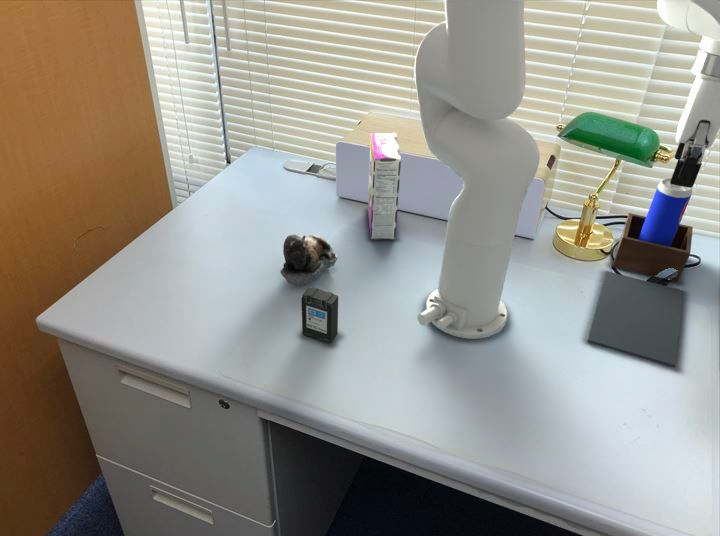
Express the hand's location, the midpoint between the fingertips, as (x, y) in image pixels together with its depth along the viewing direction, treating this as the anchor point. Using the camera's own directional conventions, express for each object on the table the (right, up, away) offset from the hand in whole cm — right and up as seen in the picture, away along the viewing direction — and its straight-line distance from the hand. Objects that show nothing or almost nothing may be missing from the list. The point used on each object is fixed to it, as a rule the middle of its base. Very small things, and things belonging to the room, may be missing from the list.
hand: (682, 172), depth 101 cm
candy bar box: (-47, -6, +20) cm, 51 cm away
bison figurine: (-60, -16, +7) cm, 63 cm away
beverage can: (0, -14, +11) cm, 17 cm away
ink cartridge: (-58, -26, -5) cm, 64 cm away
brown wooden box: (0, -14, +10) cm, 17 cm away
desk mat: (-8, -23, -2) cm, 25 cm away
